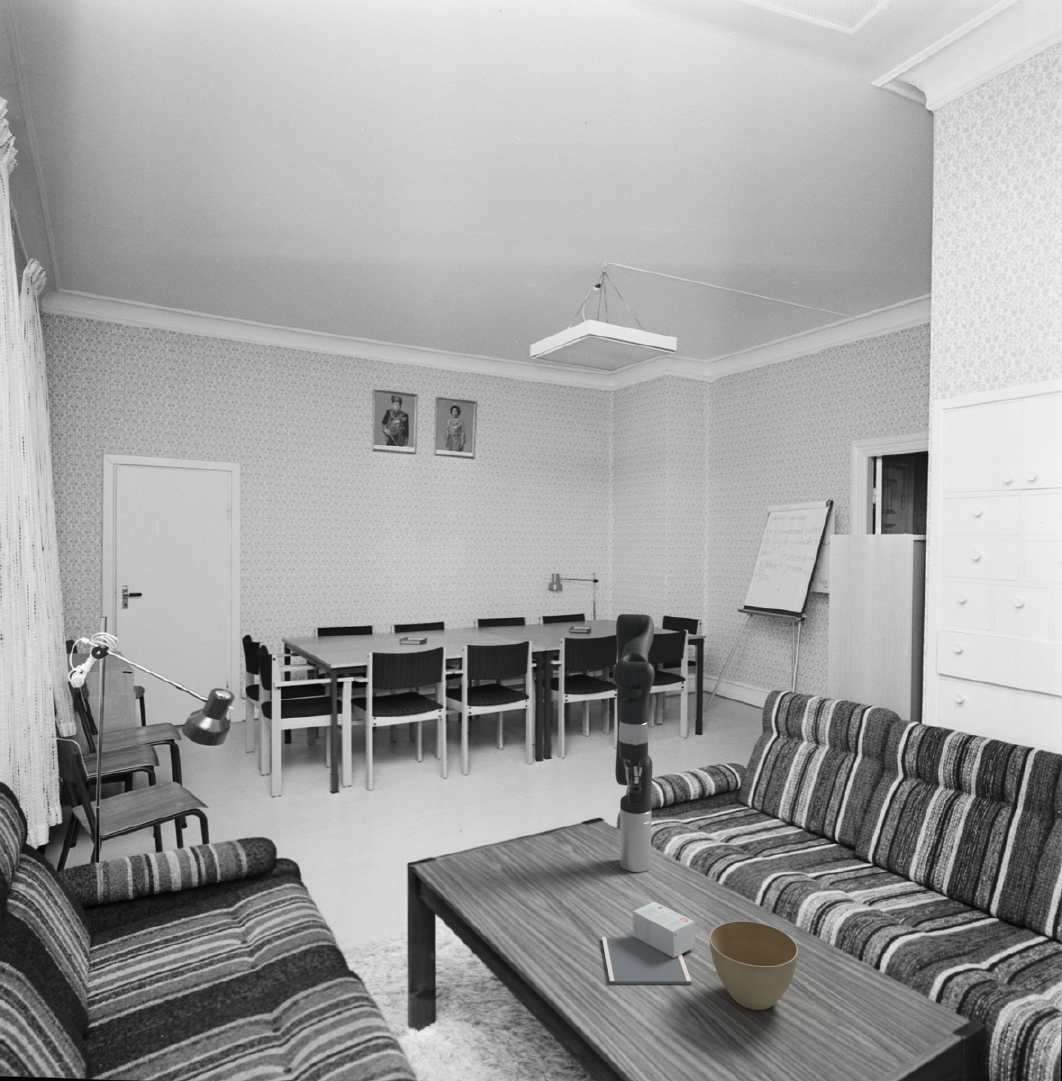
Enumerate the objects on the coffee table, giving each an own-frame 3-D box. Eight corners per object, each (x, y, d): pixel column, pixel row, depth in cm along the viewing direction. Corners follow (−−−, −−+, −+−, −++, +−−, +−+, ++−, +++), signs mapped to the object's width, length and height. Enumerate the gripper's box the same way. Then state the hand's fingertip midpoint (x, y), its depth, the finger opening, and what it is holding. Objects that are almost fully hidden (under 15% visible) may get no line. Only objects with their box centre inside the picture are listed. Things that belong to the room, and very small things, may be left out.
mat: (601, 939, 183) (601, 936, 183) (675, 940, 183) (675, 937, 183) (609, 983, 165) (609, 980, 165) (691, 984, 165) (691, 981, 165)
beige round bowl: (736, 964, 173) (737, 911, 173) (812, 999, 160) (812, 942, 160) (692, 997, 160) (693, 941, 160) (771, 1038, 148) (771, 977, 147)
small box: (632, 936, 184) (673, 959, 174) (632, 910, 184) (672, 931, 174) (654, 926, 189) (695, 947, 179) (654, 900, 189) (695, 920, 179)
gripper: (616, 732, 201) (615, 796, 201) (622, 745, 187) (621, 815, 187) (644, 732, 201) (643, 796, 201) (652, 746, 187) (651, 815, 187)
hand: (633, 805), depth 194 cm, fingers closed
